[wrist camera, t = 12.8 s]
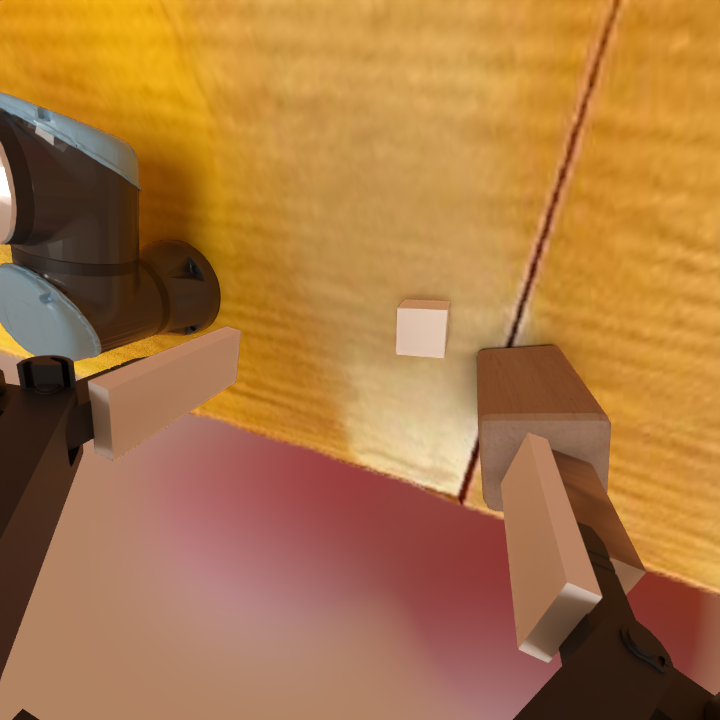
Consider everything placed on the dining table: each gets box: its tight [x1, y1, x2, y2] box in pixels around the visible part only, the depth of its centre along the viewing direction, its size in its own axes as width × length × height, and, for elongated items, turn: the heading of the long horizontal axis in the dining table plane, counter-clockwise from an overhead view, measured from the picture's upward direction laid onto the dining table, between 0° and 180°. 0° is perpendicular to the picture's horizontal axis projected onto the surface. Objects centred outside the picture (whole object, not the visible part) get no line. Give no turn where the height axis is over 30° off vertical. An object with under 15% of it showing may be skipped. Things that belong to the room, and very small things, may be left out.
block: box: [477, 345, 611, 511], centre depth 39 cm, size 10×10×20 cm
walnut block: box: [551, 449, 646, 595], centre depth 25 cm, size 5×5×10 cm
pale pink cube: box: [396, 299, 450, 358], centre depth 46 cm, size 6×6×6 cm
